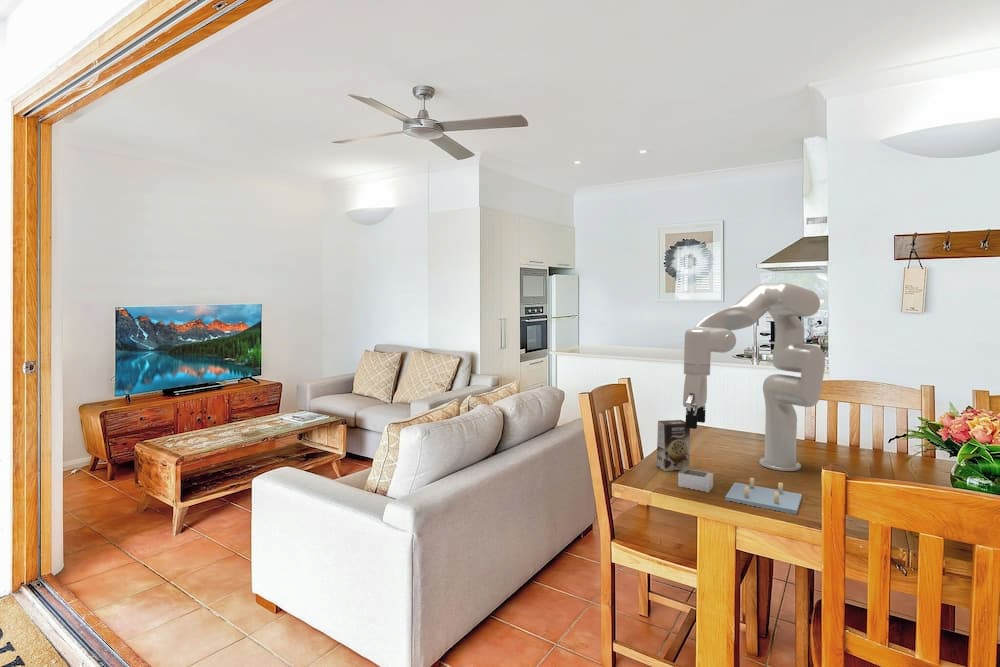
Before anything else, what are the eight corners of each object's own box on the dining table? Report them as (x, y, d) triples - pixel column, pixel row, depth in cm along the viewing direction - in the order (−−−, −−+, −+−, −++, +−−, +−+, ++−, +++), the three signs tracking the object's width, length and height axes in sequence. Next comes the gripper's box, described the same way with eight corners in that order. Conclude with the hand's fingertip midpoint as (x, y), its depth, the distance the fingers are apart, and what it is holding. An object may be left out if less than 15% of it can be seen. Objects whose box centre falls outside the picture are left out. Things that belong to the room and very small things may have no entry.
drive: (683, 481, 167) (683, 467, 166) (712, 487, 162) (713, 473, 161) (678, 487, 162) (678, 472, 162) (708, 493, 157) (708, 478, 157)
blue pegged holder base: (734, 486, 162) (735, 472, 162) (801, 498, 152) (802, 483, 151) (725, 500, 150) (725, 486, 150) (796, 514, 140) (797, 499, 140)
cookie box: (665, 471, 176) (665, 424, 175) (656, 465, 182) (656, 420, 181) (690, 470, 177) (690, 423, 176) (680, 464, 184) (681, 418, 182)
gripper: (691, 365, 169) (690, 418, 170) (676, 371, 154) (674, 428, 155) (716, 367, 164) (714, 421, 165) (702, 373, 150) (701, 432, 151)
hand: (695, 425), depth 160 cm, fingers open, 9 cm apart
